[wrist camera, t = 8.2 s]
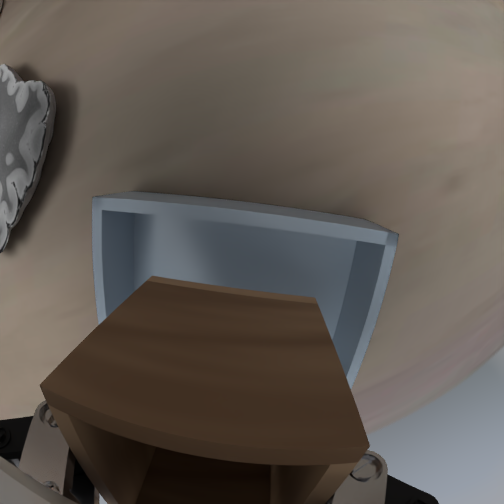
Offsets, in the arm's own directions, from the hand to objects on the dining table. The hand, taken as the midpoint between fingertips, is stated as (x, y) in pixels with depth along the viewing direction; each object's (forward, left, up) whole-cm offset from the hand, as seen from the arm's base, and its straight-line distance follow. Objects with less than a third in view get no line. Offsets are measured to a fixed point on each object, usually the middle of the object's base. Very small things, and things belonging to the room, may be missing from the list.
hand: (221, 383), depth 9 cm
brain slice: (-8, -23, -9) cm, 26 cm away
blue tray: (0, 0, -8) cm, 8 cm away
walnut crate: (0, 0, -1) cm, 1 cm away
